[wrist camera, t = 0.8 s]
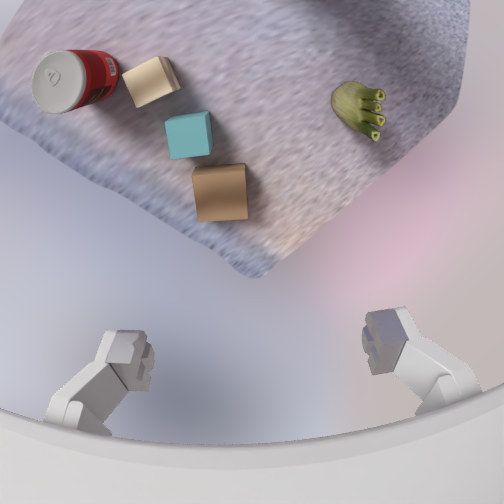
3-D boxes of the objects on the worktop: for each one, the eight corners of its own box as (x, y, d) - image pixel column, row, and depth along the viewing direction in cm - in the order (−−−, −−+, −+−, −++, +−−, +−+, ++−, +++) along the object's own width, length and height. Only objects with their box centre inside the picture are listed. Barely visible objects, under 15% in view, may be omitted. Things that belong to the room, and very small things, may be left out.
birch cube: (135, 73, 34) (121, 74, 30) (167, 57, 33) (157, 56, 29) (148, 103, 37) (136, 108, 33) (180, 88, 36) (172, 91, 32)
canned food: (88, 43, 30) (45, 42, 21) (130, 63, 33) (95, 64, 24) (65, 89, 34) (22, 100, 25) (105, 109, 37) (67, 125, 27)
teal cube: (173, 115, 38) (164, 122, 34) (209, 110, 38) (204, 116, 34) (178, 149, 41) (170, 159, 37) (213, 145, 41) (209, 154, 37)
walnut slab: (195, 166, 42) (191, 175, 39) (244, 162, 42) (244, 171, 39) (201, 209, 46) (198, 222, 43) (247, 206, 46) (248, 219, 43)
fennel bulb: (348, 126, 39) (381, 148, 29) (319, 108, 38) (346, 123, 28) (368, 94, 36) (408, 106, 26) (340, 74, 35) (374, 78, 25)
